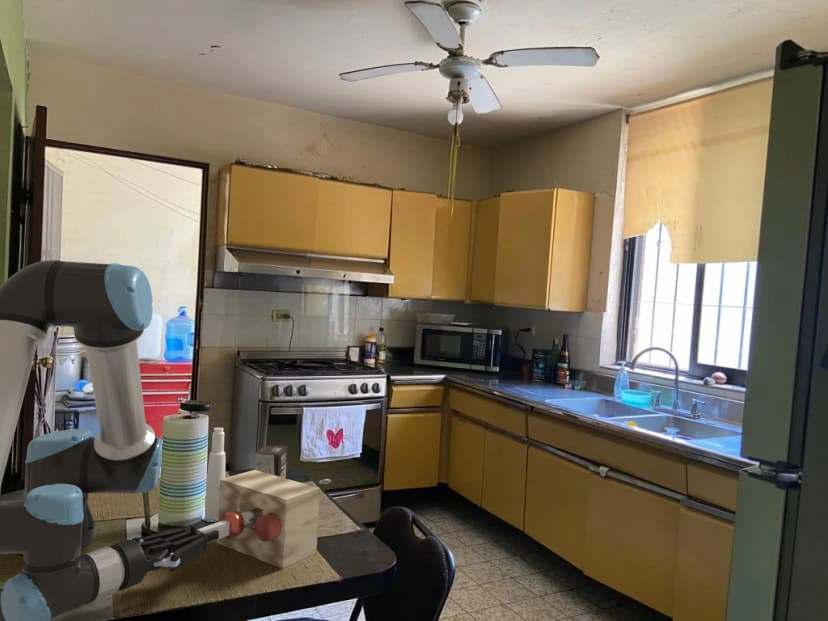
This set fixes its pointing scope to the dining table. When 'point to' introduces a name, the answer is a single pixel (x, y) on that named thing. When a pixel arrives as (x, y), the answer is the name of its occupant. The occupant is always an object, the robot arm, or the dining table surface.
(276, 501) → the block
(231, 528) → the knob
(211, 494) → the cosmetic bottle
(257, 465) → the coffee box
